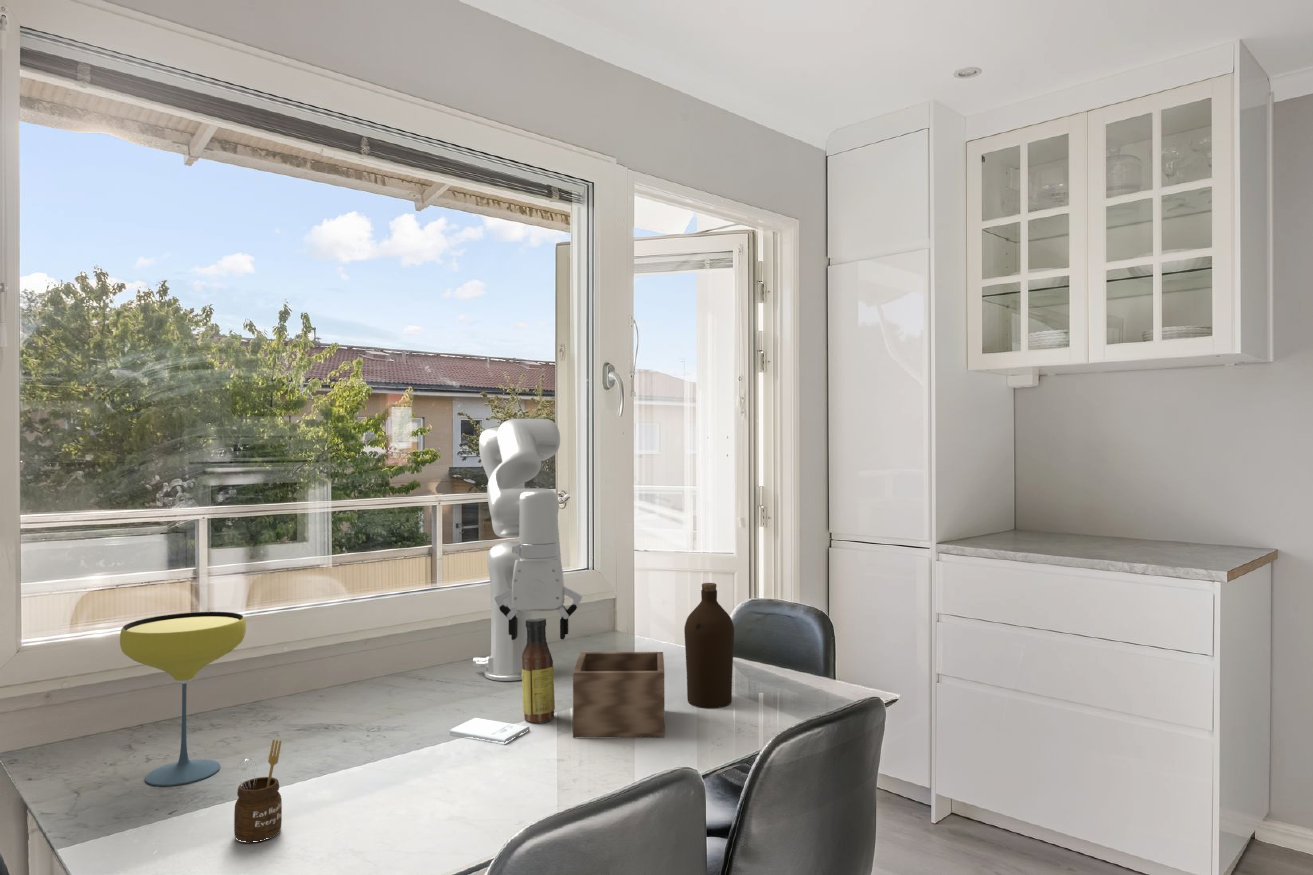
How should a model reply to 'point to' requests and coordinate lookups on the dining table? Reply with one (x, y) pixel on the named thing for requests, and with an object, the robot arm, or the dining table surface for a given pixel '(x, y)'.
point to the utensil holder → (259, 804)
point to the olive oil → (709, 652)
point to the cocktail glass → (182, 668)
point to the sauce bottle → (537, 674)
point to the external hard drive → (488, 730)
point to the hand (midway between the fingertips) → (538, 638)
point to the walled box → (619, 695)
